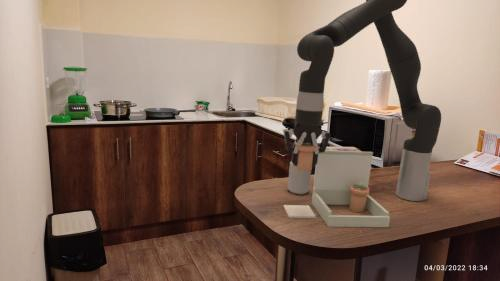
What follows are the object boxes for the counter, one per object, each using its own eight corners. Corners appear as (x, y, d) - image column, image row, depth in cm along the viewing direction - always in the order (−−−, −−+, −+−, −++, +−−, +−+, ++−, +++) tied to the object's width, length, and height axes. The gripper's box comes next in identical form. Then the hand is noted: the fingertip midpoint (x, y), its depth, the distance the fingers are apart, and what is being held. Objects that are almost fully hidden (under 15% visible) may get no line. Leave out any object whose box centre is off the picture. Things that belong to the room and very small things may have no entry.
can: (308, 196, 125) (311, 162, 122) (286, 193, 126) (289, 160, 124) (309, 189, 132) (312, 157, 130) (288, 186, 134) (291, 154, 131)
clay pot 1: (310, 165, 112) (313, 136, 110) (315, 171, 106) (319, 141, 104) (291, 165, 111) (294, 136, 109) (296, 171, 105) (299, 140, 103)
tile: (308, 207, 116) (308, 205, 116) (315, 218, 108) (315, 216, 108) (283, 206, 115) (283, 205, 115) (288, 217, 107) (289, 215, 107)
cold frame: (364, 203, 122) (371, 151, 118) (388, 227, 105) (398, 167, 101) (311, 202, 120) (317, 149, 116) (328, 226, 103) (335, 165, 99)
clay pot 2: (362, 205, 120) (366, 179, 118) (369, 213, 114) (373, 186, 112) (344, 205, 119) (348, 179, 117) (351, 212, 114) (355, 185, 112)
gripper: (329, 107, 109) (323, 162, 113) (282, 105, 107) (277, 161, 111) (338, 111, 102) (331, 170, 105) (287, 108, 100) (282, 168, 104)
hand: (303, 165), depth 108 cm, fingers closed on clay pot 1, 4 cm apart
